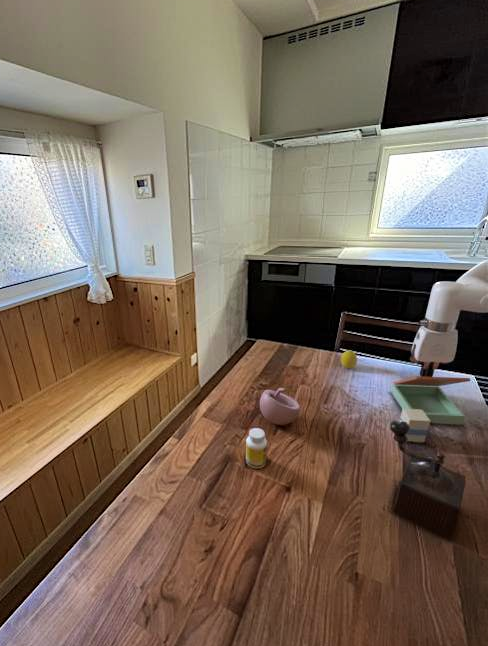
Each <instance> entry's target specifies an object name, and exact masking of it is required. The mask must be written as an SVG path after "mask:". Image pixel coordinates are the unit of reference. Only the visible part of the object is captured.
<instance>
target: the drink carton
mask: <svg viewBox="0 0 488 646" xmlns="http://www.w3.org/2000/svg"><path fill="white" fill-rule="evenodd" d="M399 420H401V421H404V422H407V424H408V425H409V427H410V429H409V431H408V432H407V434H406V437H407V439H408V440H407V441H406V442H415V443H425V442H426V438H427V435H428V432H429V428H430V424H431V423H430V420H429V418H428V417H427V416H426V414H425V413H424V411H423V410H419V409H402V408H401V413H400V417H399Z"/></svg>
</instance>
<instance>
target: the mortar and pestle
mask: <svg viewBox="0 0 488 646" xmlns="http://www.w3.org/2000/svg"><path fill="white" fill-rule="evenodd" d="M286 391H287V388H286V387H279V388H278V389H277V390H272V389H264V391H263V392H262V394H261V396H260V398H259V409H260V412H261V414H262V416H263V417H264V418H265V419H266V421H268V422H269V423H272V424H274V425H278V426H285V425H288V424H290V423H292V422H293V421H295V420H296V418H297V417H298V415H299V413H300V410H301V406H300V404H299V403H298V401H297V400H296V399H294V398H293V397H292V396H290V395H288V394H284V393H285V392H286ZM282 392H284V393H282Z"/></svg>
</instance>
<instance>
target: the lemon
mask: <svg viewBox="0 0 488 646" xmlns="http://www.w3.org/2000/svg"><path fill="white" fill-rule="evenodd" d="M357 363H358V356H357V354H356V352H355V351H352V350H351V349H349V350H346V351H344V352H343V353H342V354H341V357H340V364H341V366H342V367H343V368H345V369H347V370H349V369H352V368H354V367H355V366H356V365H357Z"/></svg>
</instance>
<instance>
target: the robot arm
mask: <svg viewBox="0 0 488 646" xmlns="http://www.w3.org/2000/svg"><path fill="white" fill-rule="evenodd" d="M461 311H467V312H473V313H484V314H485V313H488V259H485V260H483V261H481V262H480V263H478V264H476V265H475V266H473V267H472V268H471V269H470V270H468V271H466V272H465V273H463V274H462V275H461V276H459V278H458V279H457V280H456V281H449V280H448V281H447V280H446V281H438V282H436V283H434V284H433V285H432V288H431V291H430V296H429V300H428V303H427V308H426V313H425V316H424V317H423V319H422V320H419V321H418V325H419V326H420V327H419V329H418V331H417V332H416V335H415V338H414V340H413V343H412V347H411V351H410V353H411V354H410V355H411V356H410V357H409V360H410V361H411V362H412V363H416V364H419V365H420V370H419V376H421V377H434V373H435V370H437V369H438V368H439V367H441V365H444V364H445V365H446V364H450V363H451V362H454V359H455V357H456V352H457V347H458V346H457V345H458V341H459V340H458V337H459V334H458V330H457V329H456V327H457V323H458V319H459V316H460V313H461Z"/></svg>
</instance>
